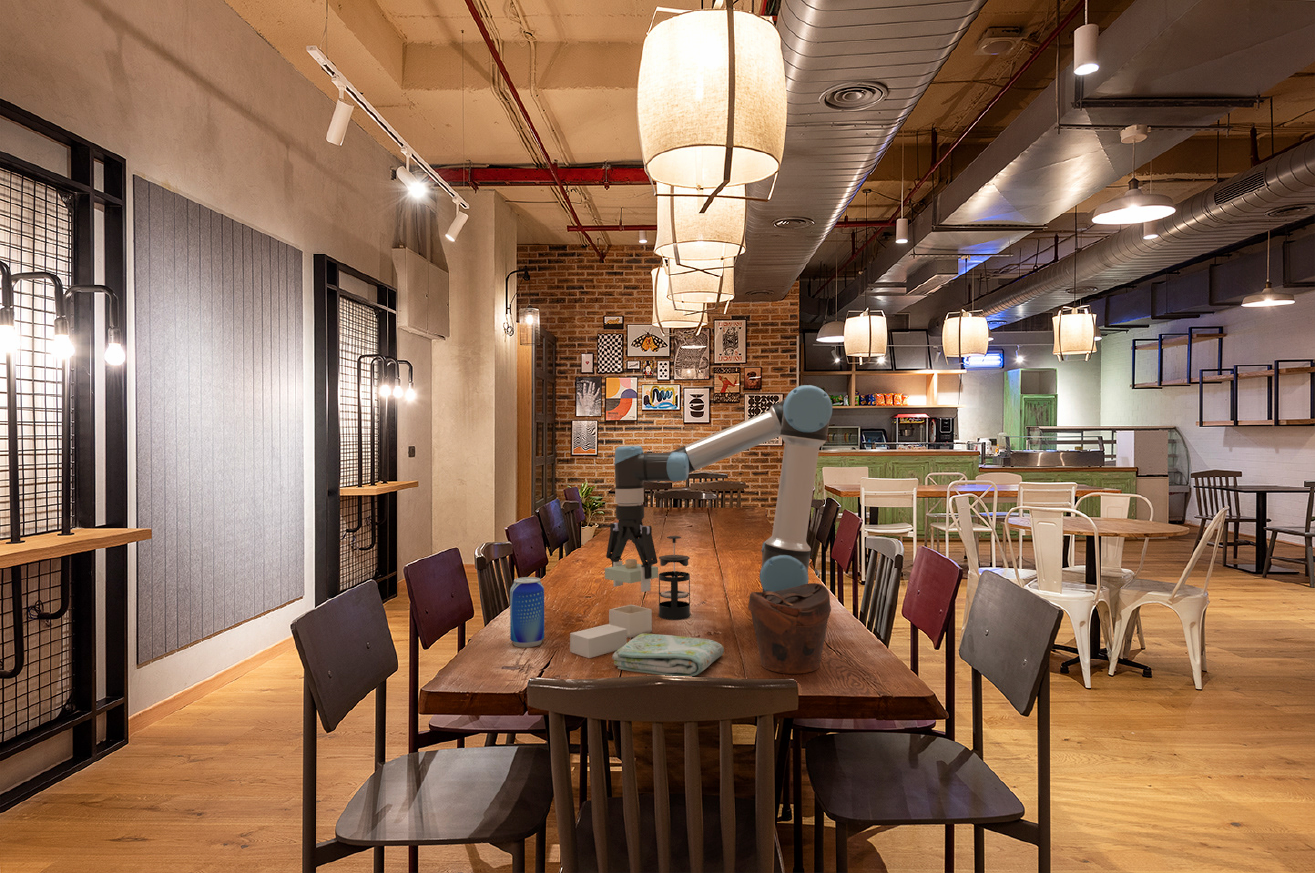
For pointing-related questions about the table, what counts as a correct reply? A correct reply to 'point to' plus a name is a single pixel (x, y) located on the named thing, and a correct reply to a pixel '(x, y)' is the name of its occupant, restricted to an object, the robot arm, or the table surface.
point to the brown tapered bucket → (791, 627)
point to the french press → (674, 588)
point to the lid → (628, 572)
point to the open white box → (632, 619)
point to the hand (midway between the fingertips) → (631, 588)
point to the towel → (667, 655)
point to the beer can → (527, 612)
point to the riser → (598, 640)
